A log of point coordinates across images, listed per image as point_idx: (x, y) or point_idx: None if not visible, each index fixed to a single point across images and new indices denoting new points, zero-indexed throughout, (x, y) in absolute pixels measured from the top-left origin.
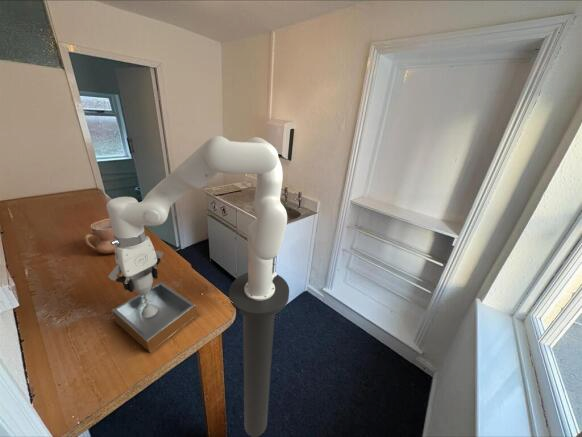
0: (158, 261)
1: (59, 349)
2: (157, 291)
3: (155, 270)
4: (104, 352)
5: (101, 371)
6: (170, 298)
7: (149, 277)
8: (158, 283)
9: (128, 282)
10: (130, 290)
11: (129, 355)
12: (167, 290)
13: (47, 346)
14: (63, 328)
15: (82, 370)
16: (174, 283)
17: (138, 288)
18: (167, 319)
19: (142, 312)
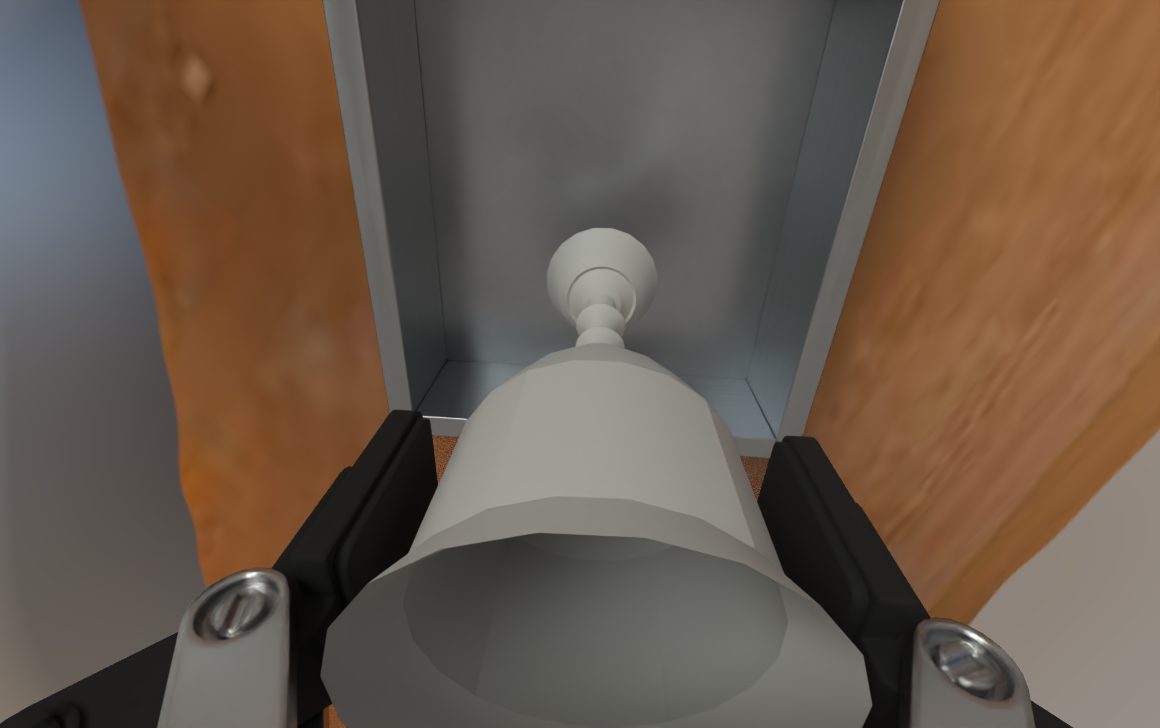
0: (65, 724)
1: (1013, 449)
2: (462, 386)
3: (320, 534)
4: (978, 222)
5: (1124, 80)
6: (430, 257)
7: (515, 463)
8: None
9: (902, 620)
10: (820, 468)
11: (961, 24)
12: (405, 308)
13: (1008, 506)
14: (896, 547)
15: (1128, 207)
16: (327, 381)
17: (720, 423)
18: (575, 82)
19: (645, 308)
